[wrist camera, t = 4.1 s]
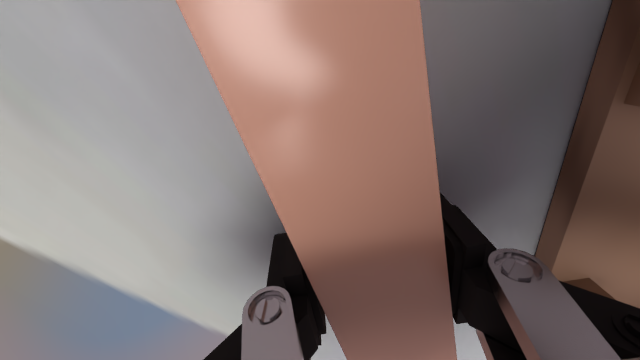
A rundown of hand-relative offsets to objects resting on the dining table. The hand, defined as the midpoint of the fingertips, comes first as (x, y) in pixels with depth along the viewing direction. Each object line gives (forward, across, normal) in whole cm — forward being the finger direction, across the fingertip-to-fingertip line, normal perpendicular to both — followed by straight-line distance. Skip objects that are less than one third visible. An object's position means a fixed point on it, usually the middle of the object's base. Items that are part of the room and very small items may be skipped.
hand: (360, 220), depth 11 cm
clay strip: (+1, 0, -4) cm, 4 cm away
